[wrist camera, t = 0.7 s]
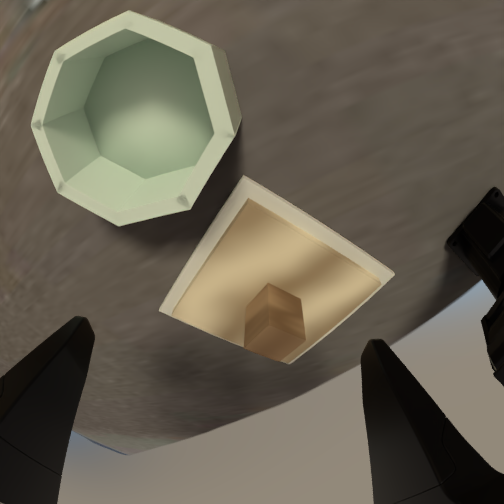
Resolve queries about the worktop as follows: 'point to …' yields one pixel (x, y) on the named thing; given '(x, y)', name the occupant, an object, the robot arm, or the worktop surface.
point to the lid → (272, 286)
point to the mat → (288, 212)
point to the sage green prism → (135, 118)
